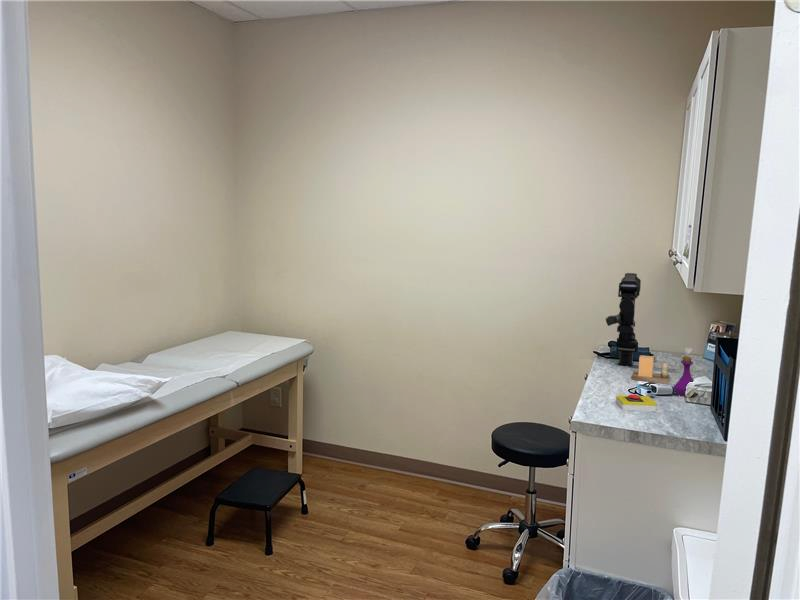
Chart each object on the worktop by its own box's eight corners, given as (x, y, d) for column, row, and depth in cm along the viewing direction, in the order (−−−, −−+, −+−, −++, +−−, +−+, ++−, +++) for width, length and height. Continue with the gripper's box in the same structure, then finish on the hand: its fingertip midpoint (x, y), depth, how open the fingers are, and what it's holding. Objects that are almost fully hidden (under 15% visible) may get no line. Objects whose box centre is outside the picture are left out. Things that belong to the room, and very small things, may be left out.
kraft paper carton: (639, 372, 240) (640, 355, 239) (652, 374, 238) (653, 356, 237) (638, 375, 235) (639, 357, 234) (652, 377, 233) (653, 358, 232)
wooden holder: (633, 374, 243) (634, 357, 242) (669, 378, 237) (671, 360, 236) (631, 379, 234) (632, 361, 234) (668, 384, 228) (670, 365, 227)
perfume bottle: (694, 399, 207) (698, 350, 205) (672, 396, 211) (675, 348, 209) (698, 395, 213) (702, 347, 211) (676, 391, 217) (679, 345, 215)
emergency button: (611, 391, 203) (655, 393, 201) (610, 403, 203) (654, 405, 202) (618, 399, 193) (664, 400, 192) (618, 411, 194) (664, 413, 192)
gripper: (609, 305, 256) (607, 339, 258) (605, 311, 239) (603, 348, 241) (636, 307, 251) (634, 341, 253) (634, 313, 235) (631, 350, 237)
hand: (625, 345), depth 246 cm, fingers closed
